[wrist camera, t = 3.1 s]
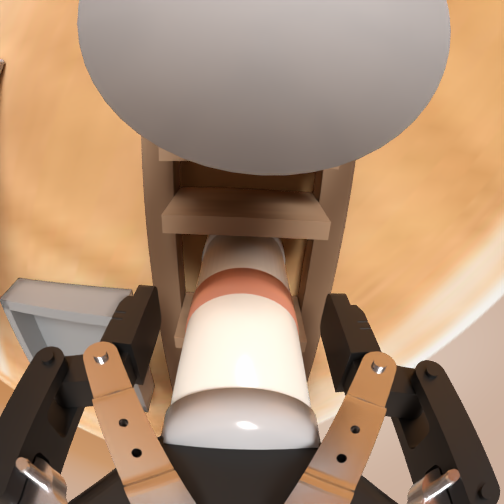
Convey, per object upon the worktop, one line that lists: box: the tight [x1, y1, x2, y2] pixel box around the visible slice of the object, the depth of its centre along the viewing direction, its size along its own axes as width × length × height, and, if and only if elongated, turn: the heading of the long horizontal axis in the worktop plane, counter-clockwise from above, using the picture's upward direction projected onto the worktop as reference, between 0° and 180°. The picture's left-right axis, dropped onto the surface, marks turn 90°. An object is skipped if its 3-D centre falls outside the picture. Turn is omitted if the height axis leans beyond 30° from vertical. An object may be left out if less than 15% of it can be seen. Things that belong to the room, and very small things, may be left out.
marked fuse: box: [161, 235, 320, 450], centre depth 12 cm, size 4×4×12 cm
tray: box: [0, 278, 155, 412], centre depth 19 cm, size 10×10×3 cm
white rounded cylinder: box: [77, 0, 451, 175], centre depth 8 cm, size 4×4×12 cm
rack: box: [141, 136, 355, 390], centre depth 16 cm, size 10×29×4 cm, turn 177°
